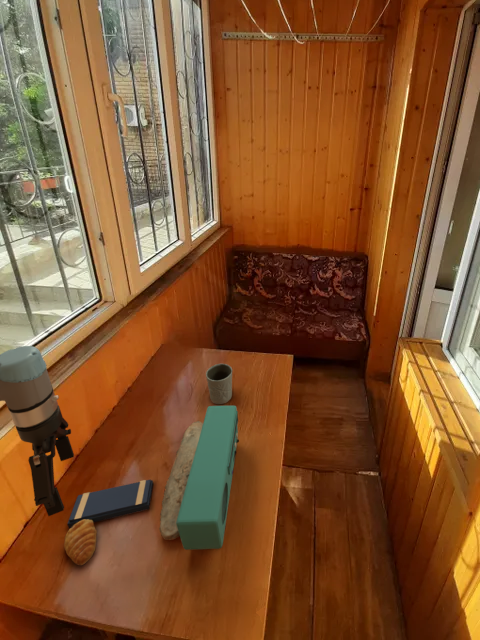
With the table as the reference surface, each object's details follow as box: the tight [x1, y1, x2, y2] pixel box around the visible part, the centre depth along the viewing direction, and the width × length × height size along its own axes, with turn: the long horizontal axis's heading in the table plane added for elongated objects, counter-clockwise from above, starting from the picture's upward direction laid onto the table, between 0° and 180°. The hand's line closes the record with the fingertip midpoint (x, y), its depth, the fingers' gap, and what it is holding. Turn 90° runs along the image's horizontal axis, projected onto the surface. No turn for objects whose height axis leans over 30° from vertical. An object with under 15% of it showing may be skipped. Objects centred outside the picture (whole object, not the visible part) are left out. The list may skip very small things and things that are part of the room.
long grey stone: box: [159, 420, 203, 541], centre depth 95 cm, size 35×5×10 cm
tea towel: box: [67, 479, 154, 529], centre depth 87 cm, size 20×7×3 cm, turn 103°
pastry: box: [63, 519, 98, 566], centre depth 78 cm, size 9×7×4 cm
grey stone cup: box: [205, 363, 233, 405], centre depth 123 cm, size 10×10×12 cm
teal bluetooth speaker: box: [176, 405, 240, 551], centre depth 89 cm, size 34×10×15 cm, turn 2°
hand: (62, 482), depth 74 cm, fingers open, 13 cm apart
